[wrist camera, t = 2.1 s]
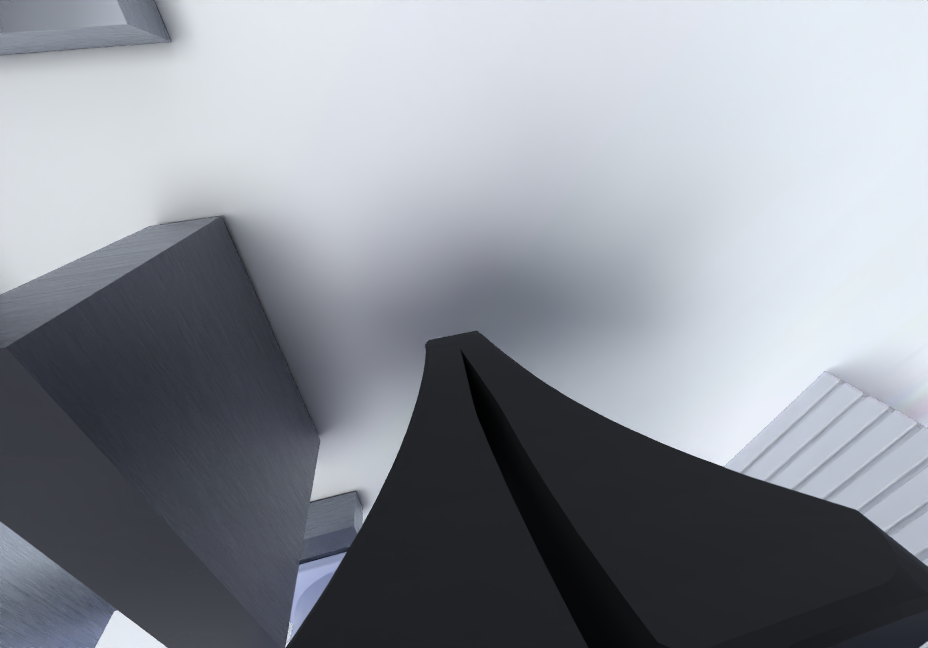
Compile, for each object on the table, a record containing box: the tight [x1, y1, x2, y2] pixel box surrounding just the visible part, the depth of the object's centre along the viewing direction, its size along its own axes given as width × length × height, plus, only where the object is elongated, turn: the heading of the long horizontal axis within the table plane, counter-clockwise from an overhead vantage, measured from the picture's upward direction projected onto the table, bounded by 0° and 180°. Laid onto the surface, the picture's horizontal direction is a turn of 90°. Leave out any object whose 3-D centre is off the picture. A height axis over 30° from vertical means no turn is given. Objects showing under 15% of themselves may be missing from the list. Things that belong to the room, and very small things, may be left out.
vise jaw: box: [0, 216, 320, 648], centre depth 8 cm, size 13×10×6 cm
